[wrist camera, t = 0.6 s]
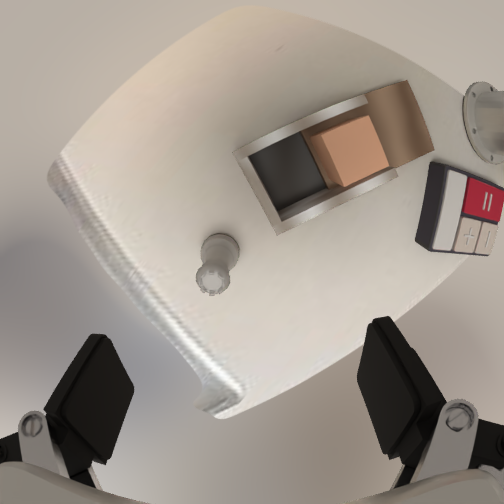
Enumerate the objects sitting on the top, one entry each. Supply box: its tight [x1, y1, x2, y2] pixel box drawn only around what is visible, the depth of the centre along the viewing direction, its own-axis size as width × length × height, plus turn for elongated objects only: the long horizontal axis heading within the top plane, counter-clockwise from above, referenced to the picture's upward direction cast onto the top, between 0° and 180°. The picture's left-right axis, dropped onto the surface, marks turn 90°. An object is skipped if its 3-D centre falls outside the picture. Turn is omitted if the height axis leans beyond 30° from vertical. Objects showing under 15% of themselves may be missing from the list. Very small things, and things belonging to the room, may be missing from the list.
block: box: [309, 115, 389, 187], centre depth 24 cm, size 5×5×5 cm
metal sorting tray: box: [232, 80, 434, 235], centre depth 25 cm, size 22×9×4 cm, turn 118°
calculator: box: [415, 162, 504, 256], centre depth 28 cm, size 11×4×15 cm
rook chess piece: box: [196, 234, 239, 296], centre depth 28 cm, size 4×4×8 cm
